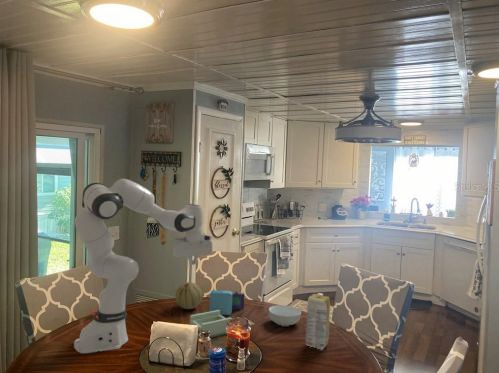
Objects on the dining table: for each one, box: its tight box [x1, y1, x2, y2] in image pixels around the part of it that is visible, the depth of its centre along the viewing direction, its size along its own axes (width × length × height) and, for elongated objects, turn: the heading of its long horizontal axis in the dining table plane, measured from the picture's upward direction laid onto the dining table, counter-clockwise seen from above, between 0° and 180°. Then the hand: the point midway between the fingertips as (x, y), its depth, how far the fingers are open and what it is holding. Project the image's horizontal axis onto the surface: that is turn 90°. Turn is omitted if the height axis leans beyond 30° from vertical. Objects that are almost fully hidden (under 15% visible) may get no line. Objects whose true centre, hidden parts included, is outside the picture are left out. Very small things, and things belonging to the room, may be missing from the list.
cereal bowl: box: [268, 304, 302, 327], centre depth 206 cm, size 17×17×7 cm
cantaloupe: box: [175, 281, 203, 310], centre depth 222 cm, size 15×15×15 cm
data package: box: [208, 289, 233, 316], centre depth 217 cm, size 12×4×12 cm, turn 91°
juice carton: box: [305, 292, 331, 351], centre depth 181 cm, size 9×8×24 cm
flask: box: [232, 289, 245, 311], centre depth 225 cm, size 9×3×11 cm, turn 91°
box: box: [189, 310, 233, 338], centre depth 193 cm, size 16×13×7 cm
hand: (192, 264), depth 197 cm, fingers closed
